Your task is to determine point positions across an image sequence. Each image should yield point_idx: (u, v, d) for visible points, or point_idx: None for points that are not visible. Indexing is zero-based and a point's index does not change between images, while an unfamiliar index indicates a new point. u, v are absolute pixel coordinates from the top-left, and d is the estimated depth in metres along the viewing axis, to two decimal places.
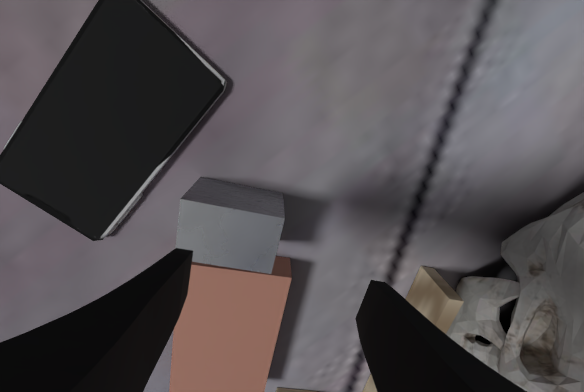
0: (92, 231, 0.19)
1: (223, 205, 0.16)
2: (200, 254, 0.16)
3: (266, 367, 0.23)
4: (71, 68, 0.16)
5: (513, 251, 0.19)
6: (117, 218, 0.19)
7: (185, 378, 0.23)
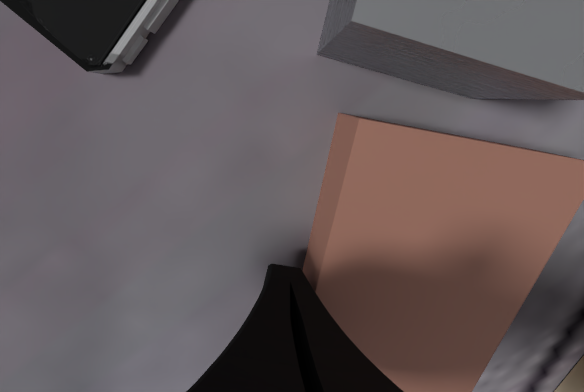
0: (85, 42, 0.08)
1: None
2: (435, 7, 0.05)
3: (476, 373, 0.11)
4: None
5: None
6: (147, 7, 0.08)
7: None
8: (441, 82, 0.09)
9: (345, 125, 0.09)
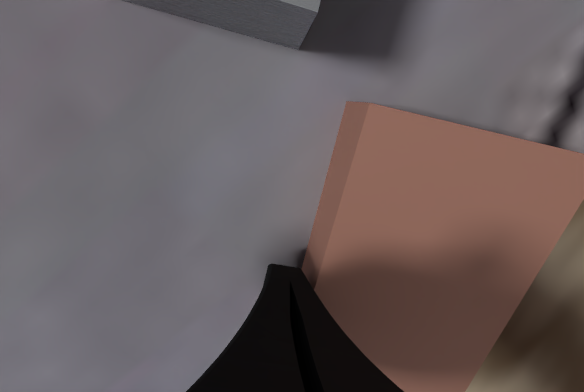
0: None
1: None
2: None
3: (473, 367, 0.11)
4: None
5: None
6: None
7: None
8: (230, 22, 0.08)
9: (353, 112, 0.09)
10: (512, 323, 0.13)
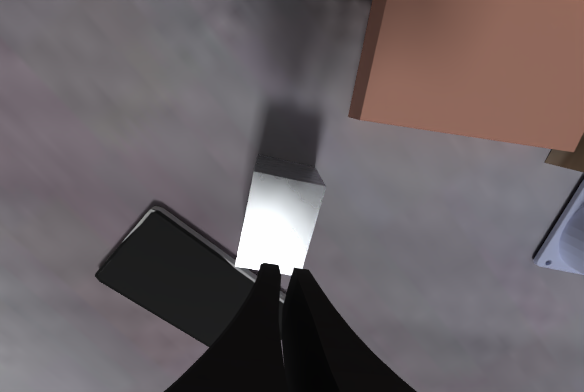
0: None
1: (242, 230, 0.16)
2: (296, 254, 0.16)
3: None
4: (161, 310, 0.21)
5: None
6: (282, 301, 0.22)
7: (544, 125, 0.16)
8: None
9: None
10: None
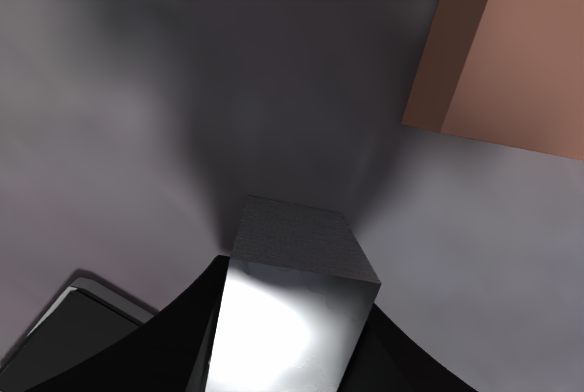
0: None
1: (211, 360, 0.08)
2: None
3: None
4: None
5: None
6: None
7: None
8: None
9: None
10: None
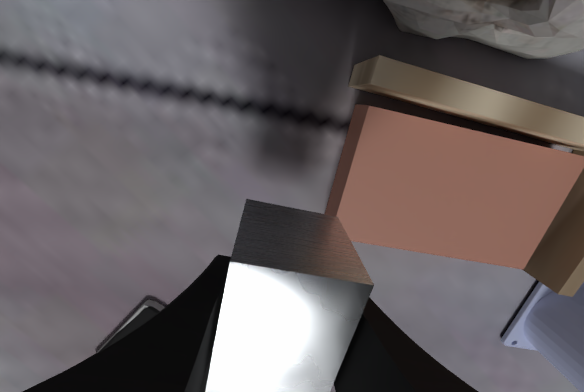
0: None
1: None
2: None
3: (517, 145, 0.15)
4: None
5: None
6: None
7: (497, 247, 0.18)
8: None
9: None
10: (487, 124, 0.17)
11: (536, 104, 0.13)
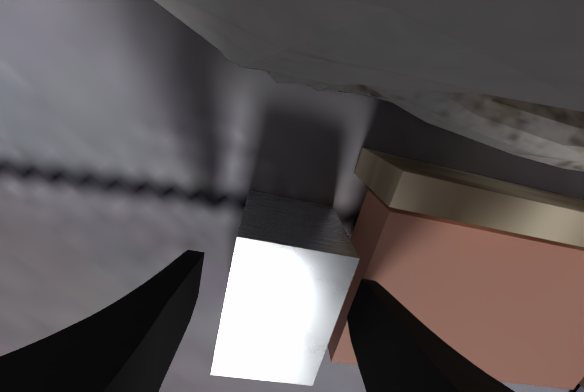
0: None
1: (220, 323, 0.10)
2: (307, 356, 0.10)
3: (583, 257, 0.12)
4: None
5: (338, 89, 0.08)
6: None
7: (543, 368, 0.14)
8: None
9: None
10: None
11: None
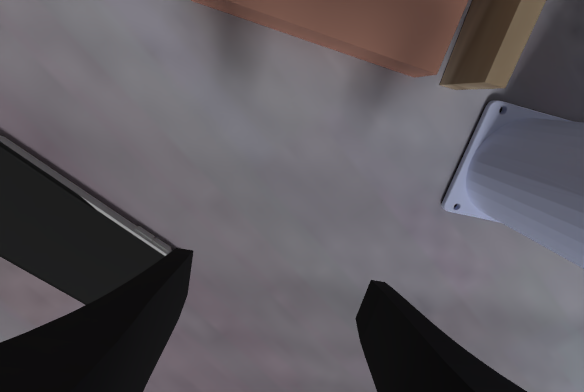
0: None
1: None
2: None
3: None
4: (21, 260, 0.19)
5: None
6: (160, 251, 0.20)
7: (401, 32, 0.14)
8: None
9: None
10: None
11: None
